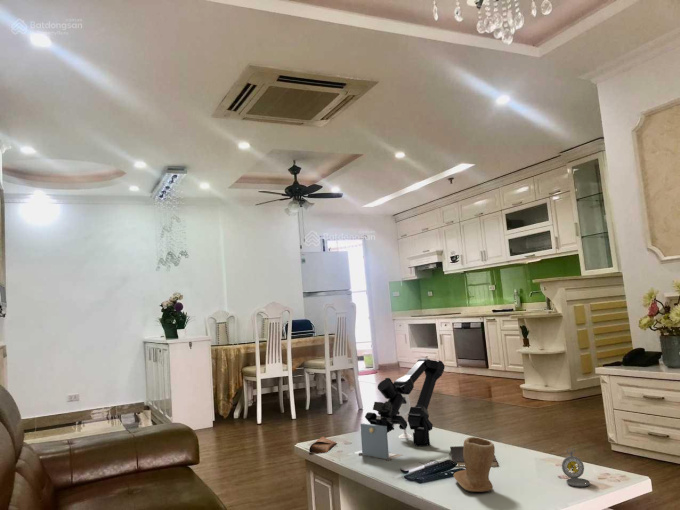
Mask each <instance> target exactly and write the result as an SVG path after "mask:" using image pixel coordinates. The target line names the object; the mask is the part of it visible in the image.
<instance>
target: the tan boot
mask: <svg viewBox="0 0 680 510" xmlns="http://www.w3.org/2000/svg"><path fill="white" fill-rule="evenodd" d="M463 441H464V442H463V446H464V448H463V457H464V461H465V466H464V467H465V469H463V470H458V471H456V472H454V473H453V477H454V480H456V482H457V483H458V485H460V487H461V488H462V489H464V490H465V491H467V492H474V493H475V492H476V493H477V492H478V493H480V492H481V493H482V492H488V491H492V490H493V484H492V482H491V480H490V477H489V475H490V470H491V467H492V466H491V465H492V462H493V459H494V455H495V452H496V450H495V445H494V443H493V442H492V441H491V440H488V439H484V438H482V437H476V436H469V437H466V438H465V440H463Z"/></svg>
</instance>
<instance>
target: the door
mask: <svg viewBox="0 0 680 510" xmlns="http://www.w3.org/2000/svg"><path fill="white" fill-rule="evenodd" d="M360 438H361V453H362V455H361V456H363V455H367V456H366V457H368V456H373V457H378V458H383V459H382V460H384V459H387V458H389V453H390V452H389V444H388V443H389V442H388V438H389V437H388V433H387V426H380V425H373V424H370V423H365V422H364V423H363V422H362V423H360ZM373 457H372V458H373ZM378 458H377V459H378Z"/></svg>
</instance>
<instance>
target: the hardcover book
mask: <svg viewBox="0 0 680 510" xmlns="http://www.w3.org/2000/svg"><path fill="white" fill-rule="evenodd" d="M463 448H464V445H463V446H462V445H461V446H456V445H455V446H450V455H451V461H454V462H457V464H458V466H457V467H461V466H460V465H465V461H464V457H463ZM493 466H494V467H498V466H499V461H498V460H497V457H496V455H495V454H494V459H493V462H492V465H491V467H493Z"/></svg>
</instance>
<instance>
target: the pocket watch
mask: <svg viewBox="0 0 680 510" xmlns="http://www.w3.org/2000/svg"><path fill="white" fill-rule="evenodd" d="M569 450H570V451H569ZM575 452H576V449H575V448H572V447H571V448H570V447H568V448H567V449H566V453H568V454H569V456H566V457H565V458H564V459H563V461H562V462H561V470H562V472H563V474H564V475H565V476H566V477H568V478H567V479H566V484H568V485H570V486H572V487H579V488H582V487H588V486H590V484H591V481H590V480H588V479H585V478H580V477H581V476H582V475H583V473H584V471H585V465H584V463H583V461H582V460H581V459H580V458H579V457H578V456H574V454H575ZM585 483H586V484H585Z"/></svg>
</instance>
